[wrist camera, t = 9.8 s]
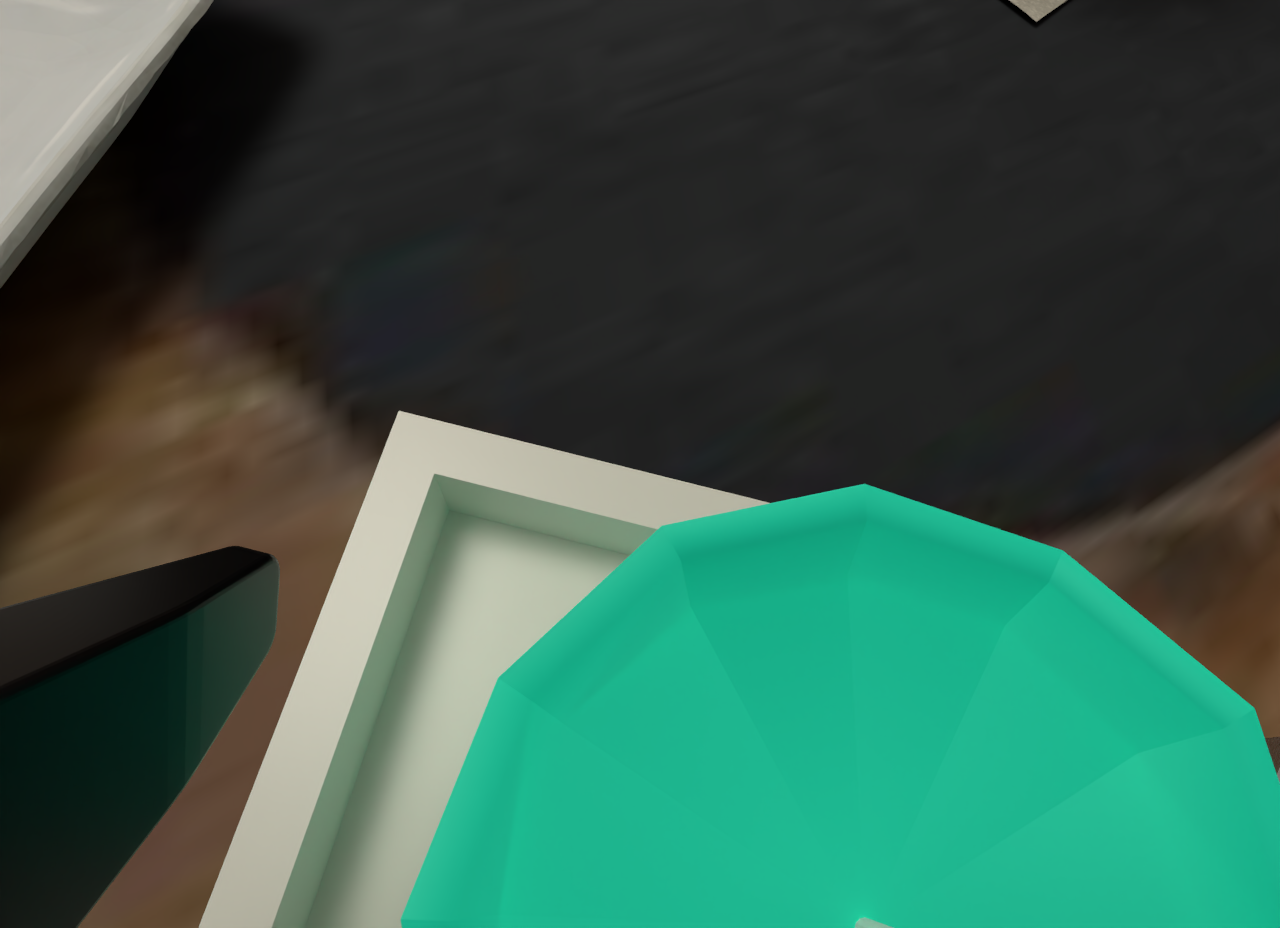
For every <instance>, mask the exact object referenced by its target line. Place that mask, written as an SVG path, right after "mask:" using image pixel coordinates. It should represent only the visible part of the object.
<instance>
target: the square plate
mask: <svg viewBox="0 0 1280 928" xmlns="http://www.w3.org/2000/svg"><path fill="white" fill-rule="evenodd" d="M212 2H213V0H0V289H1V287H2V286H3V285H4V283H5V282H6V281H7V279H8V278H9V277H10V275H11V274H12V273H13V272H14V270H15V269H16V268H17V266H18V265H19V264H20V262H21V261H22V260H23V258H24V257H25V256H26V254H27V253H28V252H29V251H30V249H31V248H32V247H33V245H34V244H35V243H36V241H37V240H38V239H39V237H40V236H41V235H42V234H43V232H44V231H45V230H46V228H47V227H48V226H49V224H50V223H51V222H52V220H53V219H54V218H55V217H56V215H57V214H58V213H59V211H60V210H61V209H62V208H63V206H64V205H65V204H66V202H67V201H68V200H69V199H70V197H71V196H72V195H73V193H74V192H75V191H76V190H77V188H78V187H79V186H80V184H81V183H82V182H83V181H84V179H85V178H86V177H87V176H88V174H89V173H90V172H91V170H92V169H93V168H94V167H95V165H96V164H97V163H98V161H99V160H100V159H101V158H102V156H103V155H104V154H105V152H106V151H107V150H108V149H109V147H110V146H111V145H112V143H113V142H114V141H115V139H116V138H117V137H118V135H119V134H120V133H121V131H122V130H123V129H124V127H125V126H126V125H127V123H128V122H129V121H130V119H131V118H132V117H133V115H134V114H135V112H136V111H137V109H138V108H139V106H140V105H141V103H142V102H143V100H144V99H145V97H146V96H147V94H148V93H149V91H150V90H151V88H152V87H153V85H154V84H155V82H156V81H157V79H158V77H159V76H160V74H161V73H162V71H163V70H164V68H165V67H166V65H167V64H168V62H169V61H170V59H171V58H172V56H173V55H174V53H175V51H176V50H177V48H178V47H179V45H180V44H181V43H182V42H183V40H184V39H185V37H186V36H187V35H188V33H189V32H190V30H191V29H192V27H193V26H194V25H195V24H196V23H197V22H198V21H199V19H200V18H201V17H202V16H203V15H204V14H205V12H206V11H207V10H208V8H209V7H210V5H211V3H212Z"/></svg>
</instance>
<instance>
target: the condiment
mask: <svg viewBox="0 0 1280 928" xmlns="http://www.w3.org/2000/svg"><path fill="white" fill-rule="evenodd" d="M1009 1H1011V2H1012V3H1013V4H1015V5H1016V6H1017V7H1019V8H1020V9H1021V10H1023V11H1024V12H1025V13H1026V14H1028V15H1029V16H1030V17H1031V18H1032V19H1033V20H1035V21H1036V22H1037V21H1038V20H1040V19H1041V18H1042V17H1044V16H1045V15H1047V14H1048V13H1049V12H1051V11H1052V10H1054V9H1055V8H1057V7H1058V6H1059V5H1061V4H1062V3H1064V2H1065V1H1067V0H1009Z"/></svg>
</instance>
